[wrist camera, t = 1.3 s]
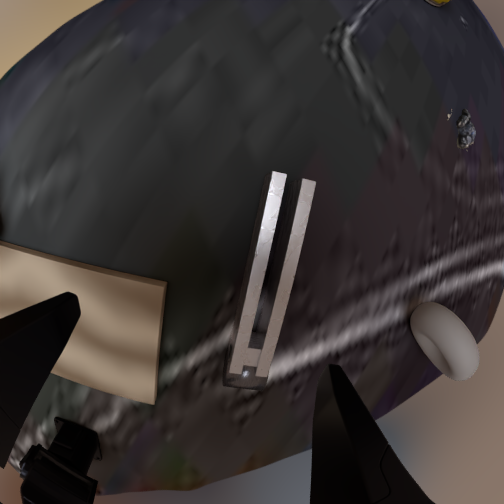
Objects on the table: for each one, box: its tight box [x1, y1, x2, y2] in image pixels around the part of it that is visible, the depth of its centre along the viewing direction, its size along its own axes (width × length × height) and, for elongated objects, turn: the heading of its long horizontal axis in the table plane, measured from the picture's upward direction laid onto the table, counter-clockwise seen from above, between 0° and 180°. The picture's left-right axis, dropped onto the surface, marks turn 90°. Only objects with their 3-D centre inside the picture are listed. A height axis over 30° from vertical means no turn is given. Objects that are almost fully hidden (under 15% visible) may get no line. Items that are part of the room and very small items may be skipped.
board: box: [0, 241, 167, 405], centre depth 23 cm, size 13×22×2 cm, turn 78°
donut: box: [410, 302, 479, 381], centre depth 23 cm, size 10×4×10 cm, turn 39°
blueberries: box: [447, 109, 476, 151], centre depth 24 cm, size 7×8×2 cm
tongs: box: [223, 171, 316, 391], centre depth 23 cm, size 18×3×4 cm, turn 168°
